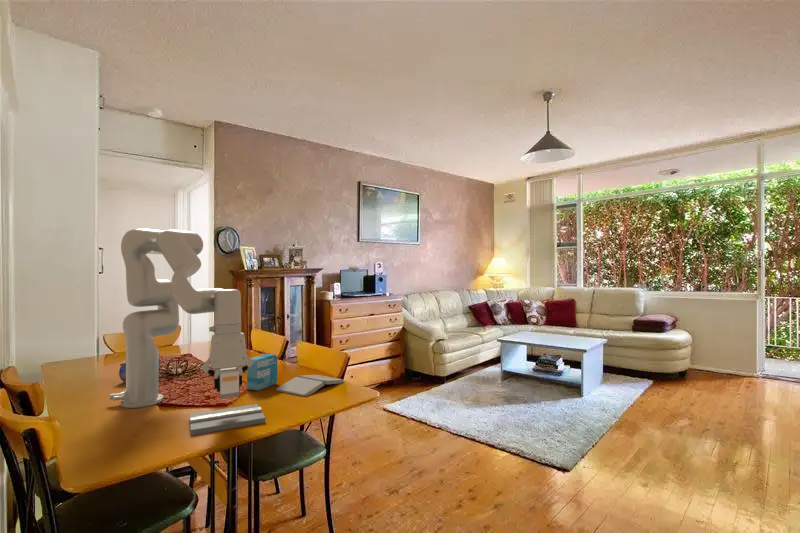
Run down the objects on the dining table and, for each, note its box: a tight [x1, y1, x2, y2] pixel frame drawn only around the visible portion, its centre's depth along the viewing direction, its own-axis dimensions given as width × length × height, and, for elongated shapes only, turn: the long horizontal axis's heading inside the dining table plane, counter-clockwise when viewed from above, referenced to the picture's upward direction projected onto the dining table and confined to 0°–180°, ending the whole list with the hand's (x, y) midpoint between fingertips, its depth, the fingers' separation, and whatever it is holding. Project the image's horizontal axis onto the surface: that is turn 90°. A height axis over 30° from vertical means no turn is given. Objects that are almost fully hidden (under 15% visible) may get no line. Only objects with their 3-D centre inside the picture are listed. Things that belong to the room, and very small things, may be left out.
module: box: [218, 367, 240, 400], centre depth 123 cm, size 5×9×7 cm, turn 29°
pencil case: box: [118, 358, 161, 383], centre depth 174 cm, size 22×9×10 cm, turn 12°
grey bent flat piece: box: [275, 374, 344, 398], centre depth 161 cm, size 23×15×4 cm, turn 150°
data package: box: [246, 353, 278, 392], centre depth 160 cm, size 12×4×12 cm, turn 156°
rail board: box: [189, 403, 266, 436], centre depth 124 cm, size 20×14×2 cm
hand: (228, 388), depth 124 cm, fingers closed on module, 5 cm apart
